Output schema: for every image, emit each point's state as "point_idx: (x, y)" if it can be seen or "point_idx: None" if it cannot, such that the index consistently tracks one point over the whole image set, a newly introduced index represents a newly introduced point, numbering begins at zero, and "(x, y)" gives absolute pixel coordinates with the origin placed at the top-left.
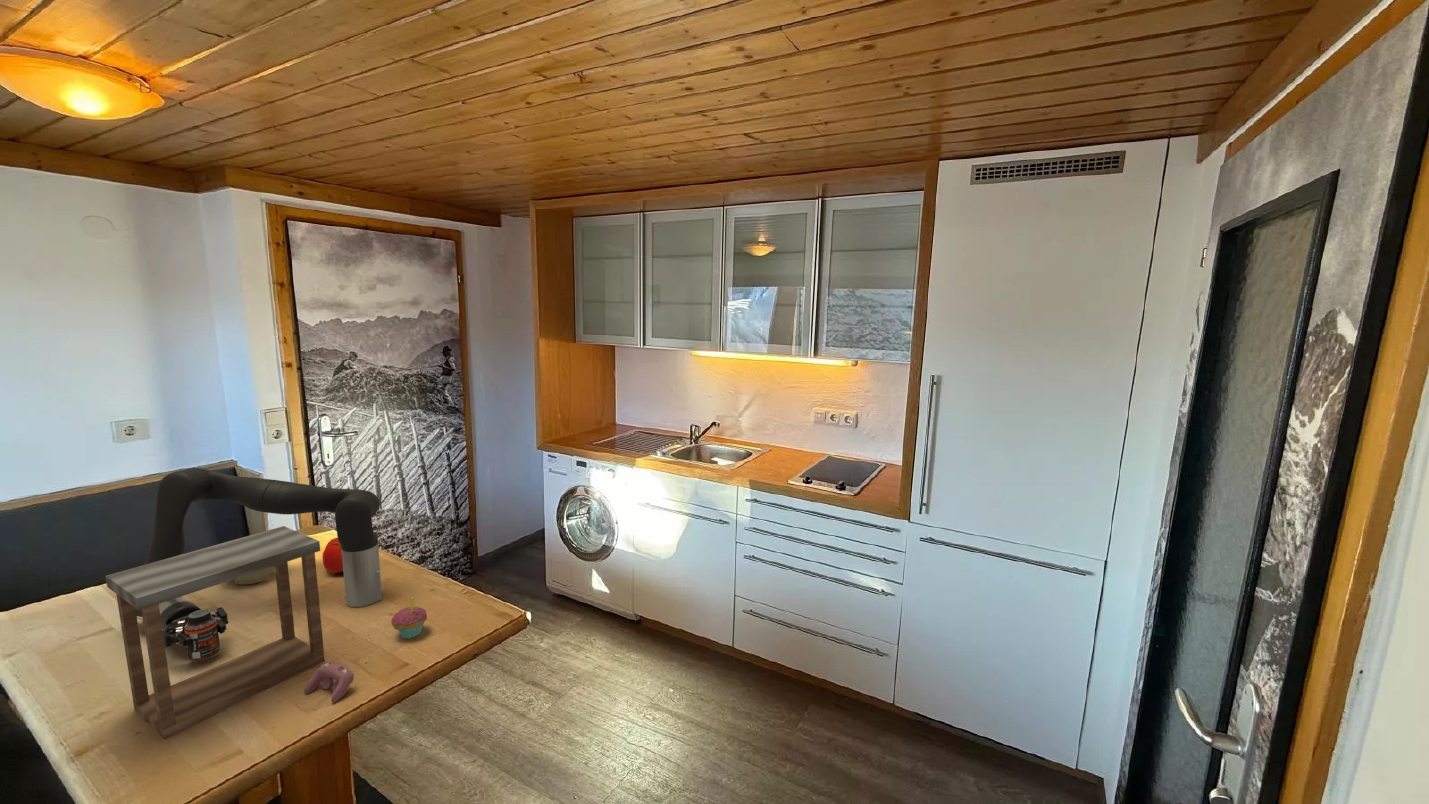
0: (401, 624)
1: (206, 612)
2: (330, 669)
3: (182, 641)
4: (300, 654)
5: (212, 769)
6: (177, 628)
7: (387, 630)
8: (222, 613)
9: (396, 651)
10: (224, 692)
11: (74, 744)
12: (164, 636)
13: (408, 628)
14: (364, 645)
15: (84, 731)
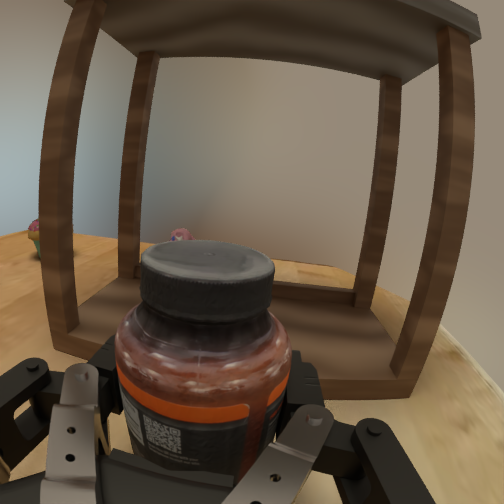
0: (72, 225)
1: (183, 242)
2: (187, 231)
3: (311, 364)
4: (132, 288)
5: (325, 273)
6: (304, 456)
7: (36, 269)
8: (12, 383)
9: (94, 254)
10: (283, 284)
11: (471, 373)
12: (387, 441)
13: None
14: (77, 273)
15: (472, 393)
